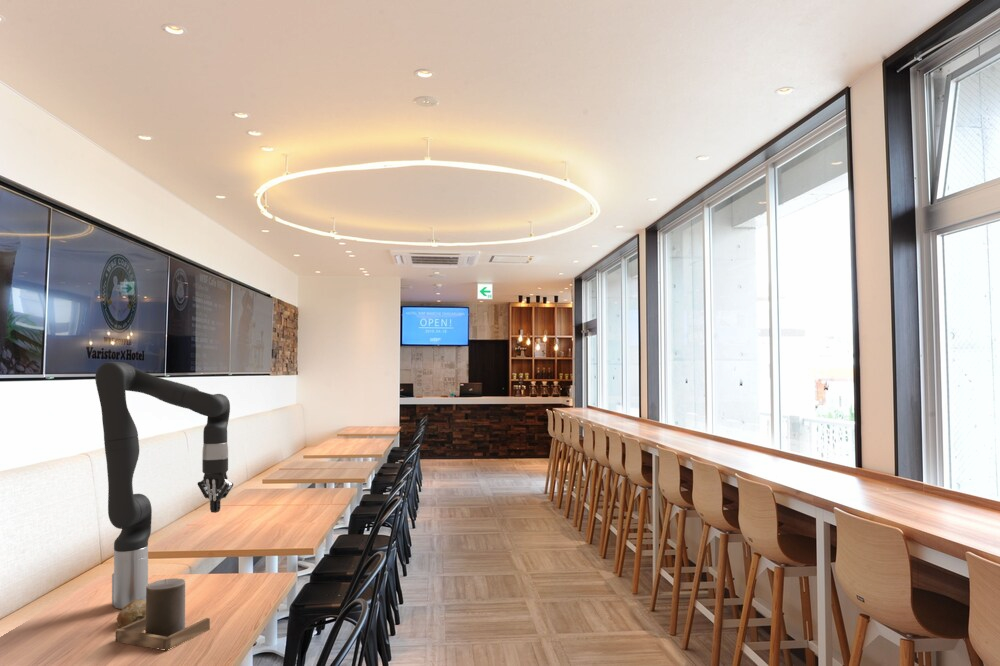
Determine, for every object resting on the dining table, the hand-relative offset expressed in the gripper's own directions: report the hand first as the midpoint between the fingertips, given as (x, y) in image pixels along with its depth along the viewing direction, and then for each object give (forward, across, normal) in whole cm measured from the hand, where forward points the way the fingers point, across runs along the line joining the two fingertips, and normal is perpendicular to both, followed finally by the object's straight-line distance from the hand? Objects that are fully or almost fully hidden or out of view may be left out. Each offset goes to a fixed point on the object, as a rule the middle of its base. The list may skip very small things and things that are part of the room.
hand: (215, 512), depth 206 cm
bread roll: (+27, -8, -22) cm, 36 cm away
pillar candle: (+27, +8, -26) cm, 38 cm away
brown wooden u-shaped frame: (+27, +8, -26) cm, 38 cm away
